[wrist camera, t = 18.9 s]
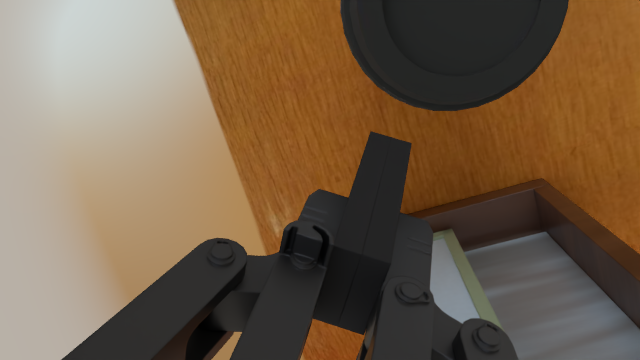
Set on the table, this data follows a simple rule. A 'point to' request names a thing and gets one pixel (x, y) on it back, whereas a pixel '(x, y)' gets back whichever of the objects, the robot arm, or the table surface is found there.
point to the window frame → (549, 272)
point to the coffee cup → (450, 46)
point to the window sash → (457, 282)
